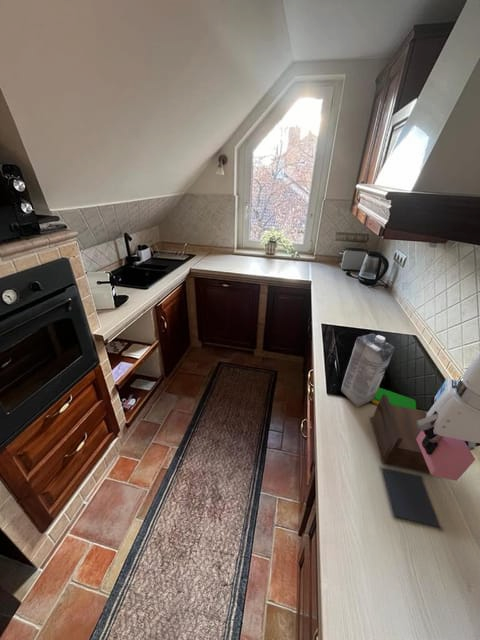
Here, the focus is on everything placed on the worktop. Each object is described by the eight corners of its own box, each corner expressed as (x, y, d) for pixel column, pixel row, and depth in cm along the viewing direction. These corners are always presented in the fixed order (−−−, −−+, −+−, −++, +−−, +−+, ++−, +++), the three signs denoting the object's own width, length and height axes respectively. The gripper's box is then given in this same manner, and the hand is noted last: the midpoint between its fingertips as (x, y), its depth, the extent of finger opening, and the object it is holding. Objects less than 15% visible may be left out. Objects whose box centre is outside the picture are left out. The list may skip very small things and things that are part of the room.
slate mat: (420, 477, 72) (420, 476, 71) (439, 527, 62) (439, 526, 61) (382, 469, 73) (382, 468, 73) (394, 516, 63) (395, 515, 63)
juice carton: (357, 410, 91) (380, 350, 77) (336, 390, 99) (354, 332, 86) (375, 402, 94) (400, 344, 81) (354, 383, 103) (373, 327, 89)
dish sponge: (373, 390, 100) (374, 385, 99) (413, 404, 94) (415, 399, 93) (371, 402, 94) (373, 397, 93) (413, 418, 89) (416, 413, 88)
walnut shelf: (415, 426, 86) (430, 402, 80) (436, 474, 72) (456, 449, 66) (371, 418, 88) (382, 394, 82) (384, 463, 75) (398, 438, 69)
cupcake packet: (438, 443, 62) (453, 421, 58) (456, 481, 54) (475, 459, 50) (415, 438, 63) (429, 417, 59) (431, 475, 55) (447, 453, 51)
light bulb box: (434, 397, 97) (446, 376, 92) (455, 405, 94) (469, 384, 89) (432, 415, 90) (446, 394, 84) (455, 425, 87) (471, 404, 81)
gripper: (519, 388, 50) (473, 444, 59) (424, 373, 53) (394, 429, 62) (551, 420, 43) (493, 477, 53) (440, 401, 46) (404, 459, 56)
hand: (440, 451), depth 57 cm, fingers closed on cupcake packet, 5 cm apart
